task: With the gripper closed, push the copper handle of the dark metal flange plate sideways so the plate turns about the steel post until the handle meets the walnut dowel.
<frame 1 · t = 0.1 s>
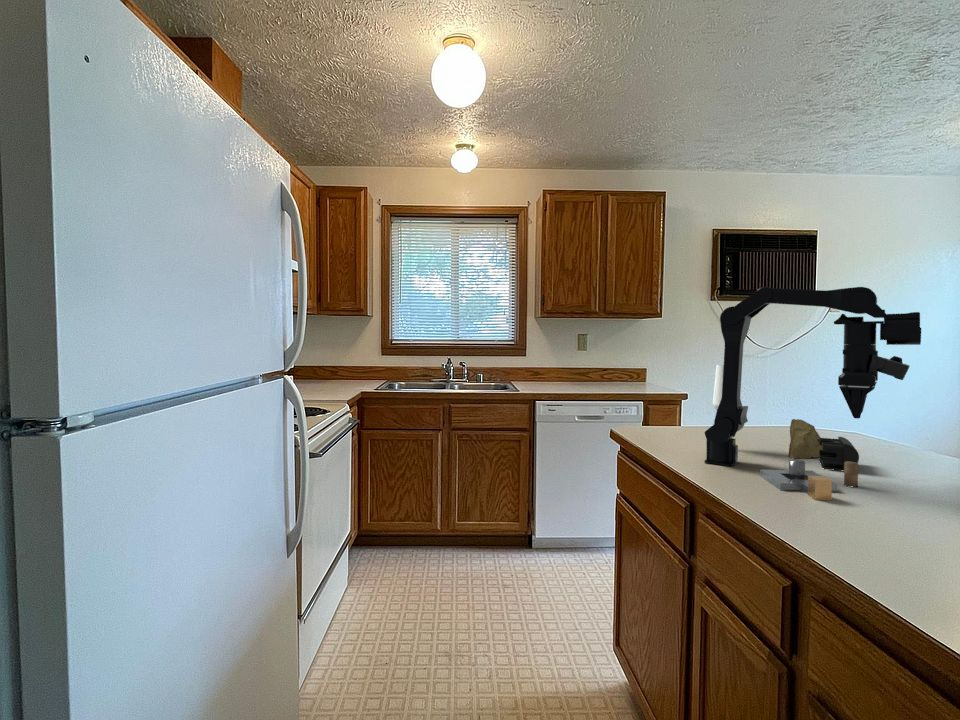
hand: (858, 415, 114), 15 cm above the counter, tool pointing down, fingers open, 9 cm apart
rock: (808, 457, 137), on the counter
dowel: (850, 485, 111), on the counter
champagne flute: (725, 449, 147), on the counter
post: (796, 483, 113), on the counter
flange plate: (819, 497, 103), on the counter
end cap: (838, 467, 126), on the counter
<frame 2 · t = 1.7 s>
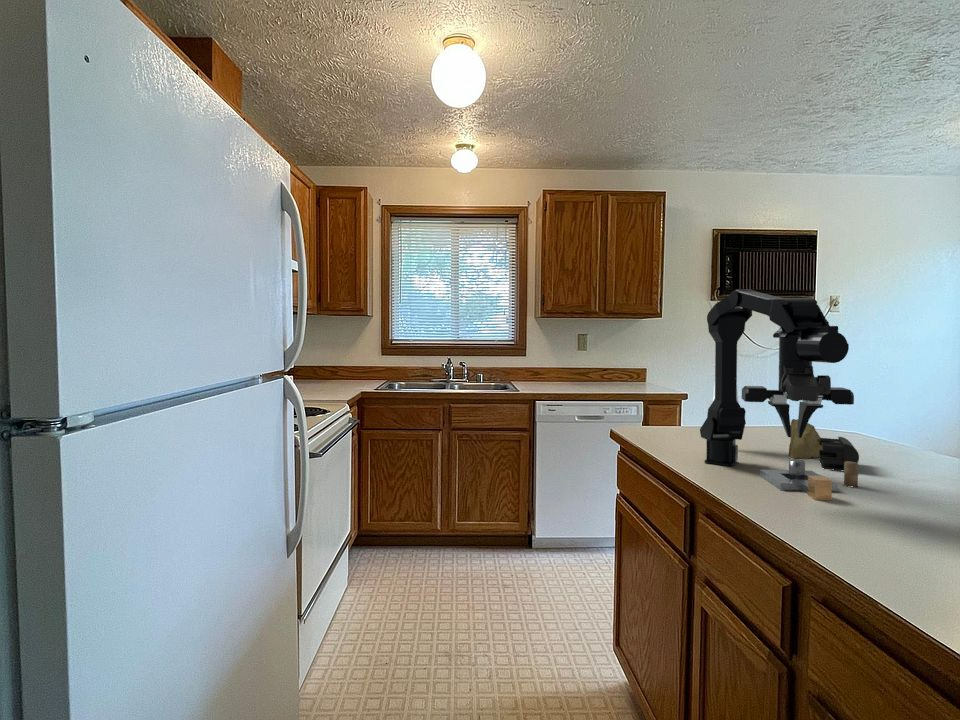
hand: (794, 437, 104), 12 cm above the counter, tool pointing down, fingers closed
nothing on the counter moved.
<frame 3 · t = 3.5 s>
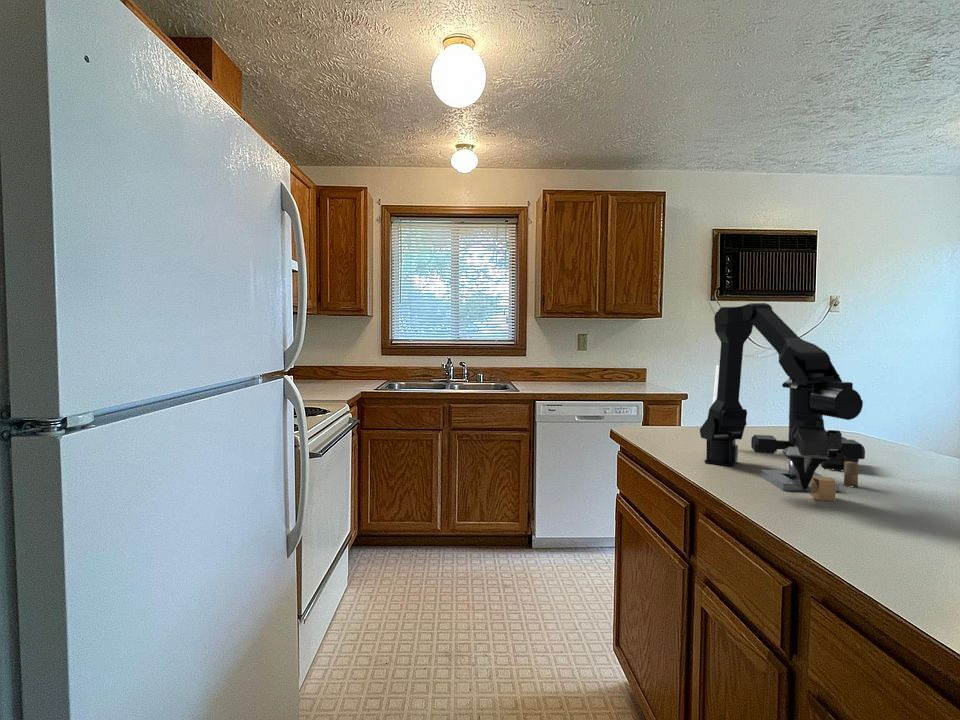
hand: (804, 488, 104), 2 cm above the counter, tool pointing down, fingers closed
flange plate: (822, 497, 103), on the counter, touching gripper
everything else where it was.
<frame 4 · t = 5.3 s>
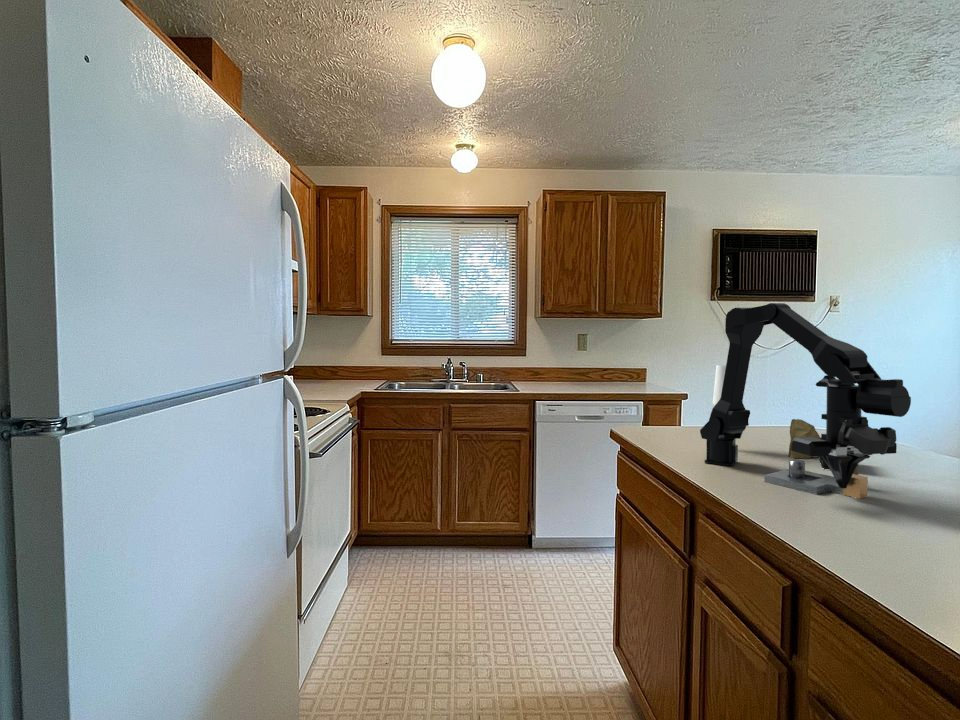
hand: (842, 488, 103), 2 cm above the counter, tool pointing down, fingers closed
flange plate: (855, 495, 104), on the counter, touching gripper
everything else where it was.
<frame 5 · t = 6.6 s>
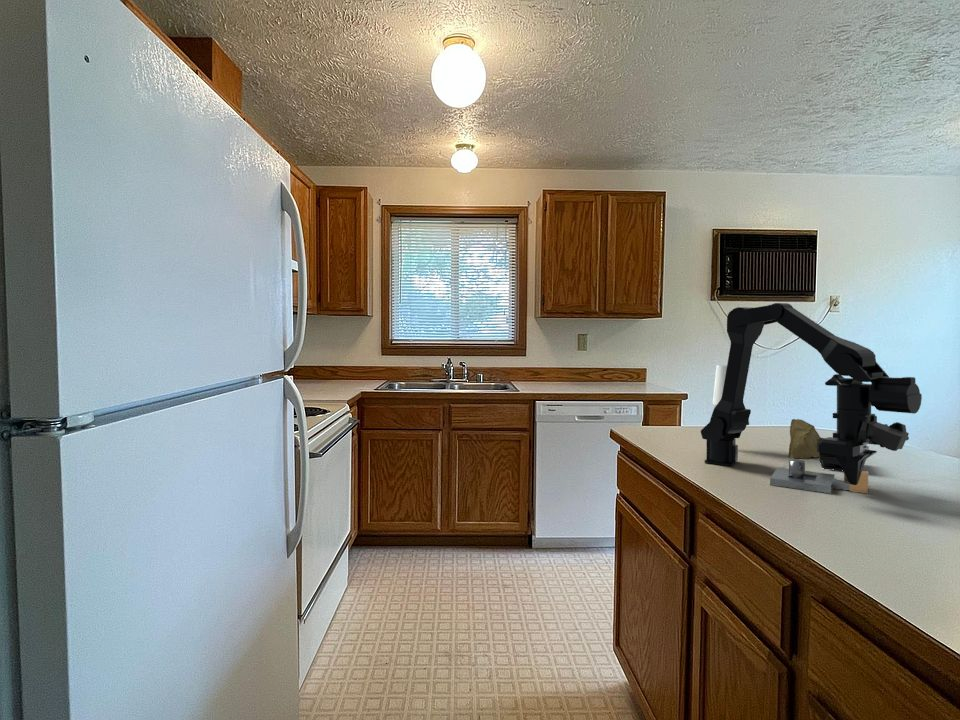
hand: (853, 484, 105), 2 cm above the counter, tool pointing down, fingers closed
flange plate: (858, 490, 107), on the counter, touching gripper, post
everything else where it was.
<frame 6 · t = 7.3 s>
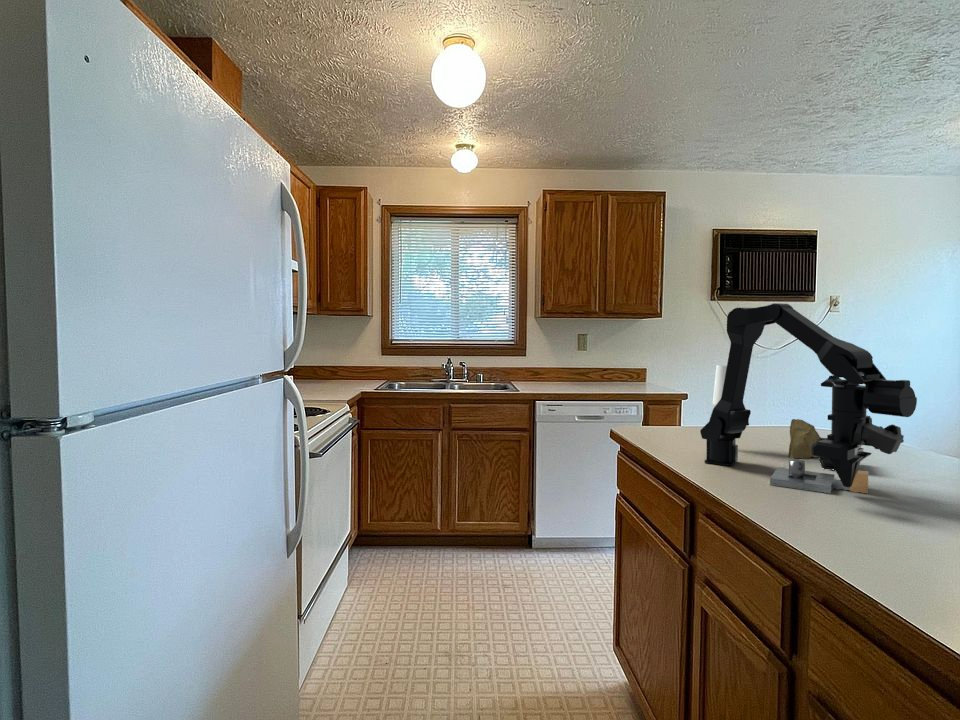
hand: (847, 486, 104), 2 cm above the counter, tool pointing down, fingers closed
flange plate: (858, 490, 107), on the counter, touching post
everything else where it was.
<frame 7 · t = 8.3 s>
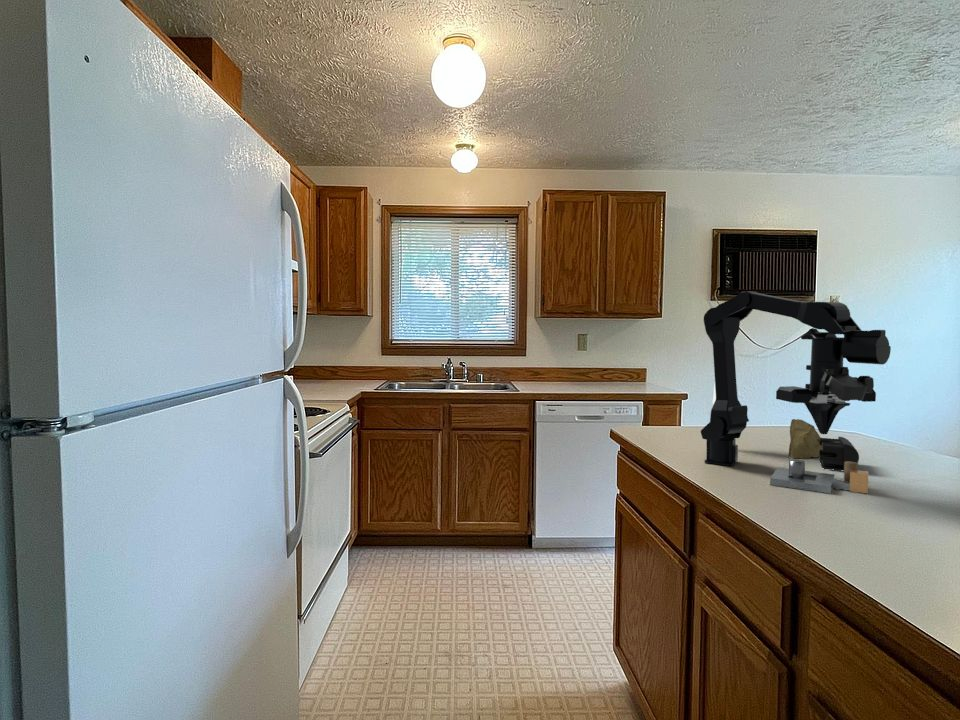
hand: (823, 433, 110), 11 cm above the counter, tool pointing down, fingers closed
flange plate: (858, 490, 107), on the counter
everything else where it was.
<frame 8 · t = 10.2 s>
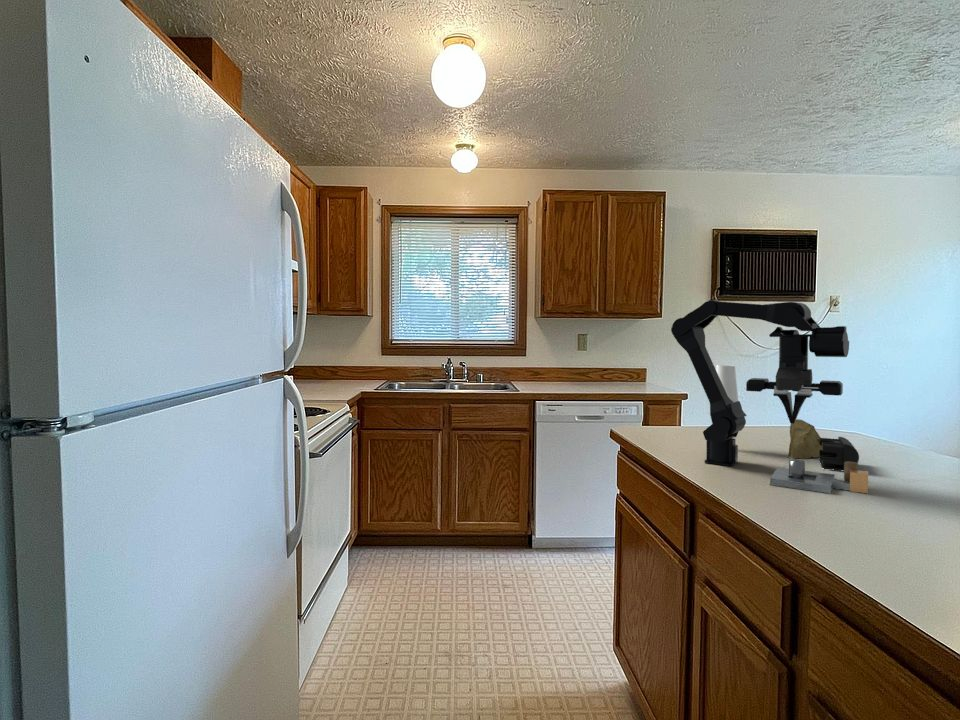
hand: (792, 423, 120), 12 cm above the counter, tool pointing down, fingers closed
flange plate: (858, 490, 107), on the counter, touching post
everything else where it was.
at the end: flange plate 3.7 cm from the dowel (horizontally); flange plate tilted 0°; flange plate on the counter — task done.
